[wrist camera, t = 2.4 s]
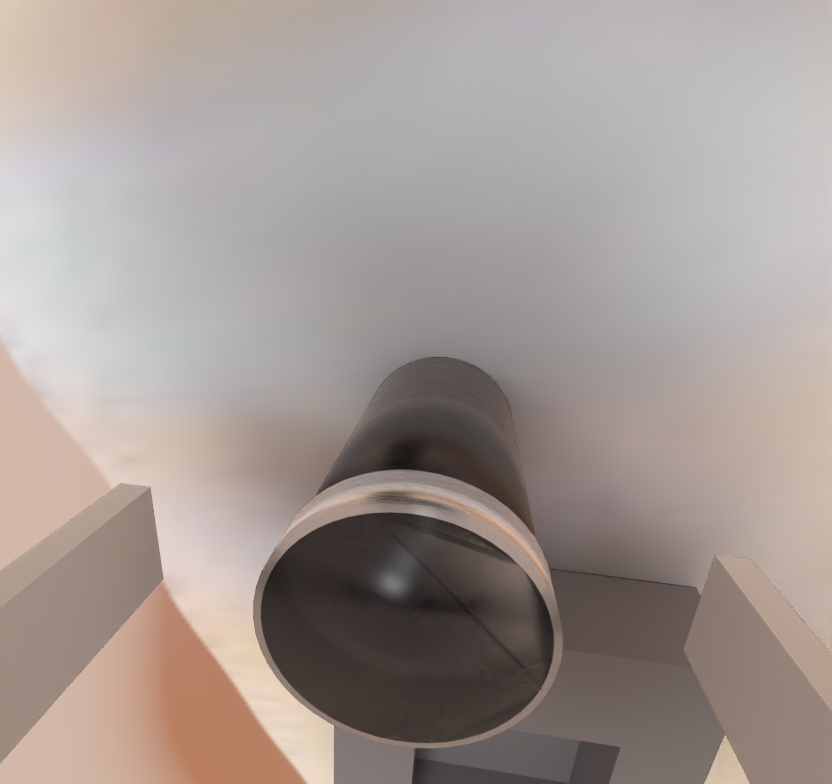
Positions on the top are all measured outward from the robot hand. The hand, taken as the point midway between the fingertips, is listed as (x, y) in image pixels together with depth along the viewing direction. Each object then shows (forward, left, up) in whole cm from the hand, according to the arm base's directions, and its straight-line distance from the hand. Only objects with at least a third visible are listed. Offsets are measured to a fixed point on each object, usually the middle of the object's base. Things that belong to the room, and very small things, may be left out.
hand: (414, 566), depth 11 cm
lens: (0, 0, -8) cm, 8 cm away
